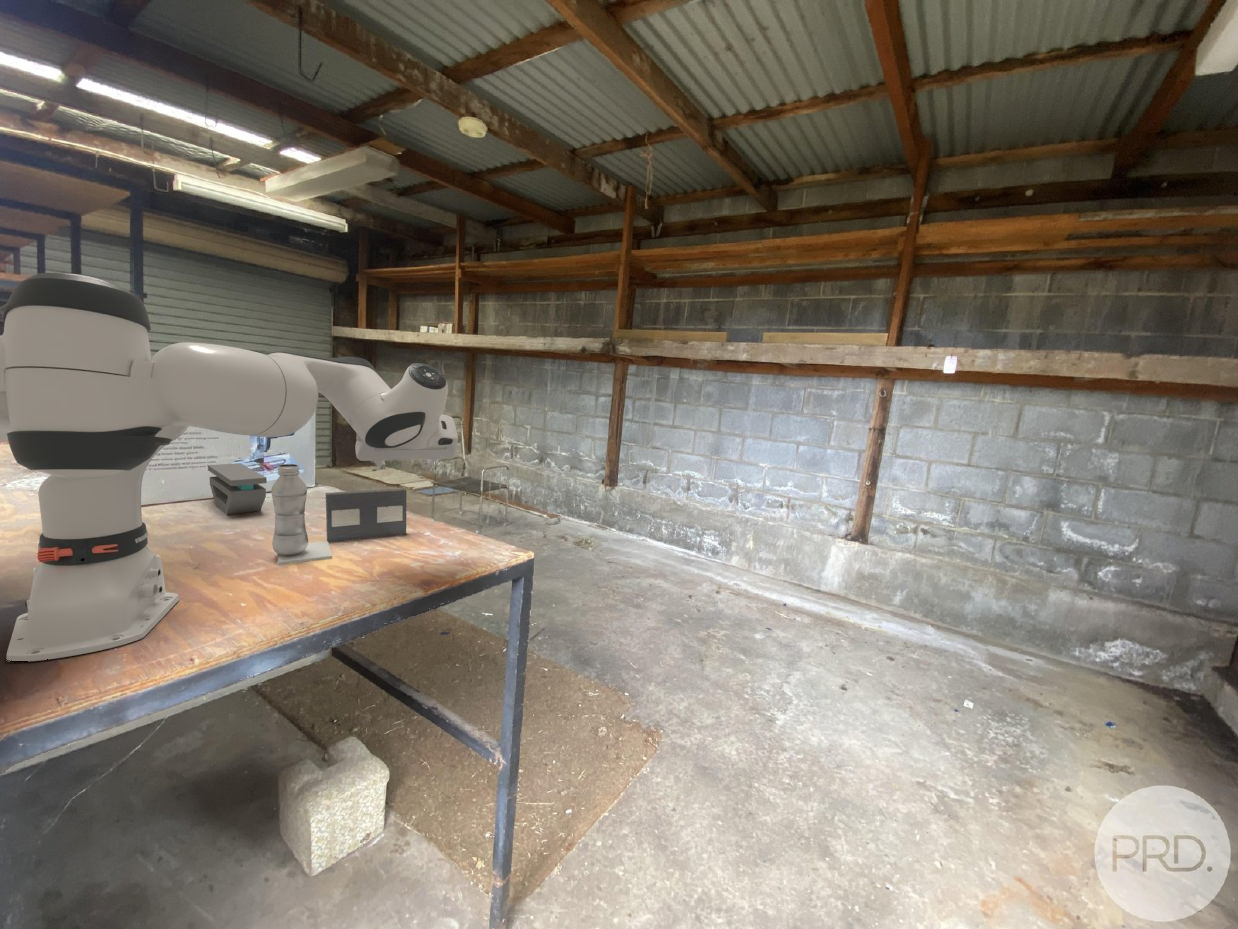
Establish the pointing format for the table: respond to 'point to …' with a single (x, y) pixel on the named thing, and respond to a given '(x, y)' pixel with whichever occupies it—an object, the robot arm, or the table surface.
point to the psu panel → (365, 514)
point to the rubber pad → (308, 554)
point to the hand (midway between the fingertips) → (403, 466)
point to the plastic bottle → (289, 511)
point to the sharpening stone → (237, 488)
